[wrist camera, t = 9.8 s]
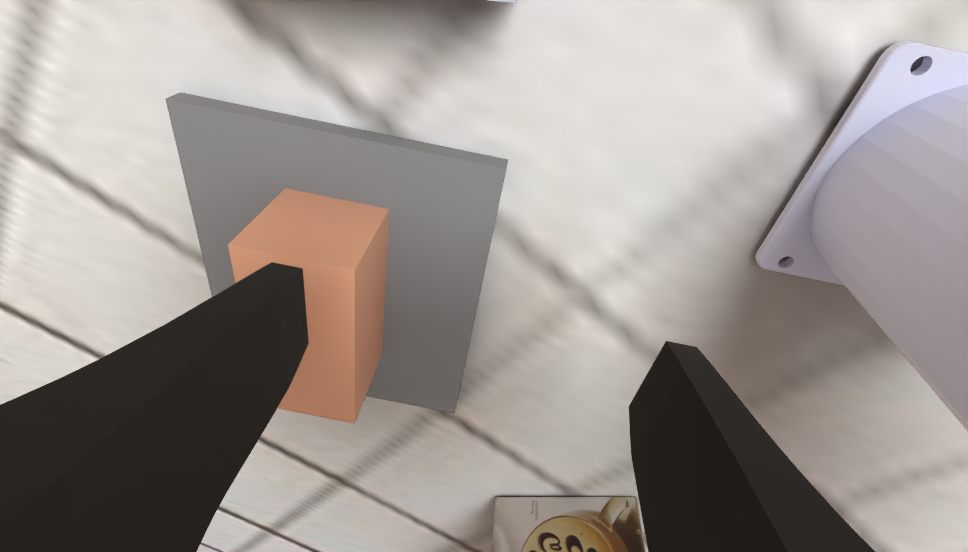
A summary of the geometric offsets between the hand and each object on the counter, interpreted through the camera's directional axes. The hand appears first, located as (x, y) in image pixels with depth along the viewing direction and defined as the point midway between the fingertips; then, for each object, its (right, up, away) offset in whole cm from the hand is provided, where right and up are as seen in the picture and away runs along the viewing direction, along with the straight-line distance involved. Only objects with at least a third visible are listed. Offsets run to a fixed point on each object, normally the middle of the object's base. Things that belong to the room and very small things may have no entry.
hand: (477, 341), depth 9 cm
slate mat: (-6, +1, +12) cm, 13 cm away
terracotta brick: (-6, +1, +11) cm, 12 cm away
